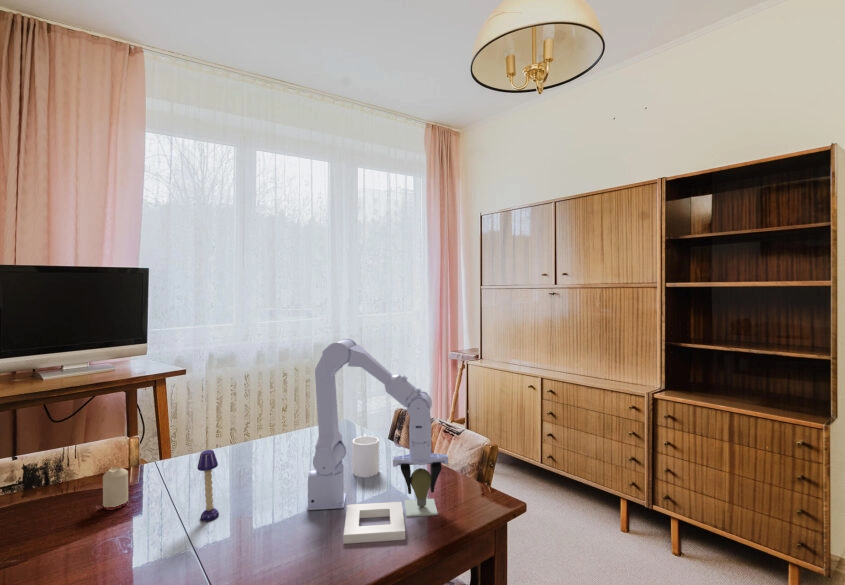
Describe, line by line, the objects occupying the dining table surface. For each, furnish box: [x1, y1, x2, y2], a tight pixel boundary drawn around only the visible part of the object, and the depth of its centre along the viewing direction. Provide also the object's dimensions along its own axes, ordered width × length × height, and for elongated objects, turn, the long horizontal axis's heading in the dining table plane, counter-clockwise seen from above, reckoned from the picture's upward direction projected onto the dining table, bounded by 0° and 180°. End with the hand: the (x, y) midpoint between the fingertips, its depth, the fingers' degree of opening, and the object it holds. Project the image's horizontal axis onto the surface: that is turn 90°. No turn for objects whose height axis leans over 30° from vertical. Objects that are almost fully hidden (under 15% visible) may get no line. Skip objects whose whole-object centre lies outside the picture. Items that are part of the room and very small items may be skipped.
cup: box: [352, 433, 380, 478], centre depth 139 cm, size 8×12×10 cm
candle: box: [102, 466, 129, 508], centre depth 116 cm, size 6×6×10 cm
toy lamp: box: [197, 449, 220, 522], centre depth 110 cm, size 5×5×17 cm
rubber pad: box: [404, 498, 439, 518], centre depth 114 cm, size 8×8×1 cm
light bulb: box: [410, 467, 432, 508], centre depth 114 cm, size 6×6×10 cm
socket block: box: [343, 501, 406, 545], centre depth 106 cm, size 14×14×2 cm
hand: (420, 491), depth 114 cm, fingers closed on light bulb, 5 cm apart
